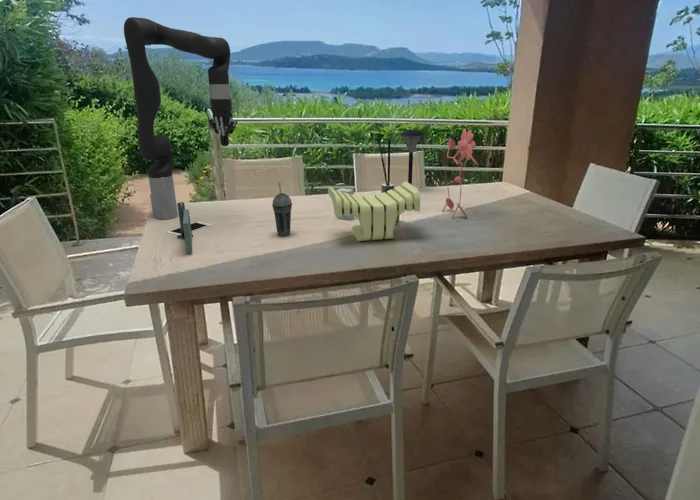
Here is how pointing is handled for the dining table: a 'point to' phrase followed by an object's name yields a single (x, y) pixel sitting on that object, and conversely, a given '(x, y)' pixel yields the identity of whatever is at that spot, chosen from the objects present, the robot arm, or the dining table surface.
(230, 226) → the dining table surface
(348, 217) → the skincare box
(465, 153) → the figurine
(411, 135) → the solar garden light
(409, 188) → the slatted curved stool
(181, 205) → the post
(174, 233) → the cell phone
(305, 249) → the dining table surface
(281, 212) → the beverage cup
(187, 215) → the green rectangular panel
